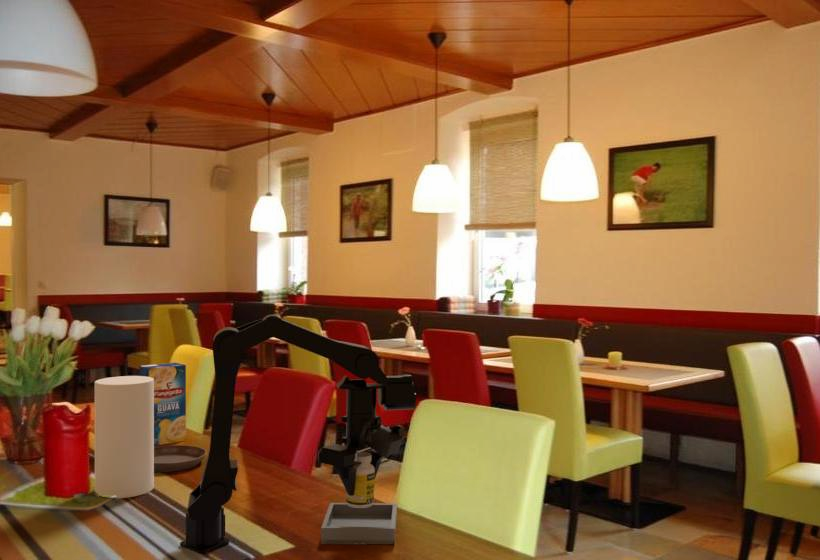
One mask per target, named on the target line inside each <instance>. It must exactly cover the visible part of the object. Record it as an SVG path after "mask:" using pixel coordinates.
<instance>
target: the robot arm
mask: <svg viewBox="0 0 820 560" xmlns="http://www.w3.org/2000/svg"><path fill="white" fill-rule="evenodd" d="M273 338H274V339H278V340H279V341H282V342H285V343H287V344H290V345H293V346H295V347H297V348H300V349H302V350H305V351H308V352H309V353H313V354H315V355H318V356H320V357H324V358H325V359H328V360H330V361H331V362H333V363H334V364H336V365H338V366H339V367H341V368H342V369H344V370H345V371H346V372H347V371H348V372H349V373H350V374H352V375H354V377H357V379H356V378H355V379H350V378H349V377H348V376H347V375H344V376H343V377H342V378H341V380H340V381H338V382H337V383H336V385H335V386H336V387H337V388H338V389H339V390H340V391H341V390H342V391H343V390H346V415H343V416H341V422H342V423H345V424H346V430H345V431H346V433H345V436H343V437H341V444H337V443H331V444H328V445H325V446H322V447H321V448H320V449H319V450H318V457H317V458H318V459H317V460H318V463H321V464H324V465H329V466H333V468H334V469H335V470H336V473H337V474H338V476H339V479H340V480H341V482H342V485H343V487H344V489H345V492H346V491H347V493H348V495H350V496H353V495H354V490H355V479H356V469H357V468H358V467H359V466H360V465H361V463H362V462H358V461H357V454H358V453H361V452H368V453H371V462H370V464H372V465H373V466H374V469H375V476H374V481H375V480H376V476H377V474H378V471H379V468H380V465H381V464H382V461H383V459H385V458H388V457H389V456H390V457H391V456H392V455H396V454H398V452H399V450H400V448H401V445H404V444H405V443H406V441H405V437H406V435H405V434H406V433H405V427H404V426H402V425H400V424H396V425H393V426H392V427H390V426H387V427H386V426H384V425H383V422H382V421H383V420H382V418H381V416H380V415H377V403H378V406H382V407H383V410H384V411H399V410H401V411H403V410H405V411H406V410H414V409H415V408H416V403H417V393H416V392H415V384H414V382H413V380H414V378H413V375H411V374H405V373H404V374H402V375H387V374H386V373H385V372H384V371H383V370H382V369H381V368H380V359H379V356H378V355H377V353H376V351H374V350H372V349H370V348H369V347H367V346H366V345H364V344H363V345H362V344H357V343H353V342H347V341H340V340H336V339H332V338H331V337H327V336H325V335H323V334H320V333H317V332H315V331H313V330H311V329H307V328H306V327H303V326H300V325H297V324H295V323H292V322H291V321H288V320H285V319H283V318H281V317H279V316H278V315H276V314H267V315H266V316H264V317H263V318H260V319H257V320H254V321H253V322H252V321H251V322H249V323H246V324H244V325H243V324H242V325H241V326H238V327H232V326H228V327H227V326H226V327H223V328H220V329H219V330H218V331H216V333H215V334H214V337H213V341H212V345H211V346H212V356H213V358H212V359H213V366H214V374H215V377H214V378H215V383H214V384H215V387H214V397H213V406H212V407H213V409H212V420H211V428H210V429H211V431H210V442H209V449H208V455H207V457H206V460H205V462H204V463H205V464H204V467H203V471H202V474H201V478H200V483H199V484H198V485H197V486H195V488H194V489H193V490H192V491H191V492H190V493H189V496H188V497H189V498H188V504H187V512H186V513H185V540H182V541H180V542H179V545H180V546H181V547H184V548H187V549H190V550H192V551H194V552H198V553H201V554H204V553H208V552H210V551H212V550H213V549H217V548H219V547H221V546H224V545H226V544H228V543H230V542H231V541H230V538H228V537H226V514H225V508H224V507H223V506H224V505H226V504H227V503H228V502H230V500H231V498H232V496H233V491H235V492H236V491H237V490H238V489H237V478H236V477H237V474H238V471H239V465H238V461H239V460H238V459H231V455H230V454H231V453H230V449H231V438H232V426H233V425H232V424H233V417H234V415H233V414H234V404H235V391H236V380H237V377H238V374H239V371H240V369H241V368H240V367H241V364H242V360H243V357H244V353H245V351H246V350H249V349H251V348H253V347H255V346H257V345H260V344H261V343H264V342H266V341H267V340H270V339H273ZM368 378H369V379H370V380H372V381H373V383H372V382H371V383H368V382H366V379H368ZM374 382H375V383H374ZM342 444H345V445H342Z"/></svg>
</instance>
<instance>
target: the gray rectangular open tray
mask: <svg viewBox="0 0 820 560" xmlns="http://www.w3.org/2000/svg"><path fill="white" fill-rule="evenodd" d="M397 514H398V504H397V503H388V502H387V503H386V502H385V503H382V502H381V503H378V502H377V503H376V502H374V503H373V505H372V506H370V507H367V508H353V507H350V506H348V505H347V504H346V502H330V503H329V505H328V507H327V511H326V513H325V516H324V519H323V521H322V525H321V526H320V544H321V545H362V544H361V543H364V544H363V545H367V544H393V543H395V544H396V535H395V534H396V533H397V522H398V520H397V518H398V515H397ZM355 543H357V544H355Z"/></svg>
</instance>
